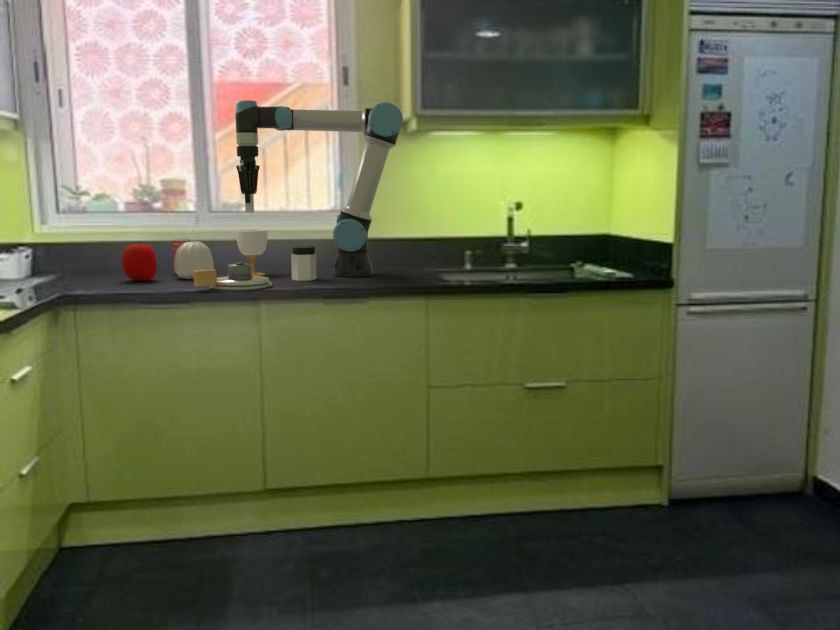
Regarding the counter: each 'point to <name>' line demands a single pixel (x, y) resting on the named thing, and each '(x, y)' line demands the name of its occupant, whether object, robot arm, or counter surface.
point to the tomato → (139, 262)
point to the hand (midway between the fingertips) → (249, 212)
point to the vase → (192, 259)
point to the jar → (303, 263)
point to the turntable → (224, 279)
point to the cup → (252, 244)
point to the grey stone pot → (240, 271)
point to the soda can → (177, 244)
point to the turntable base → (240, 287)
